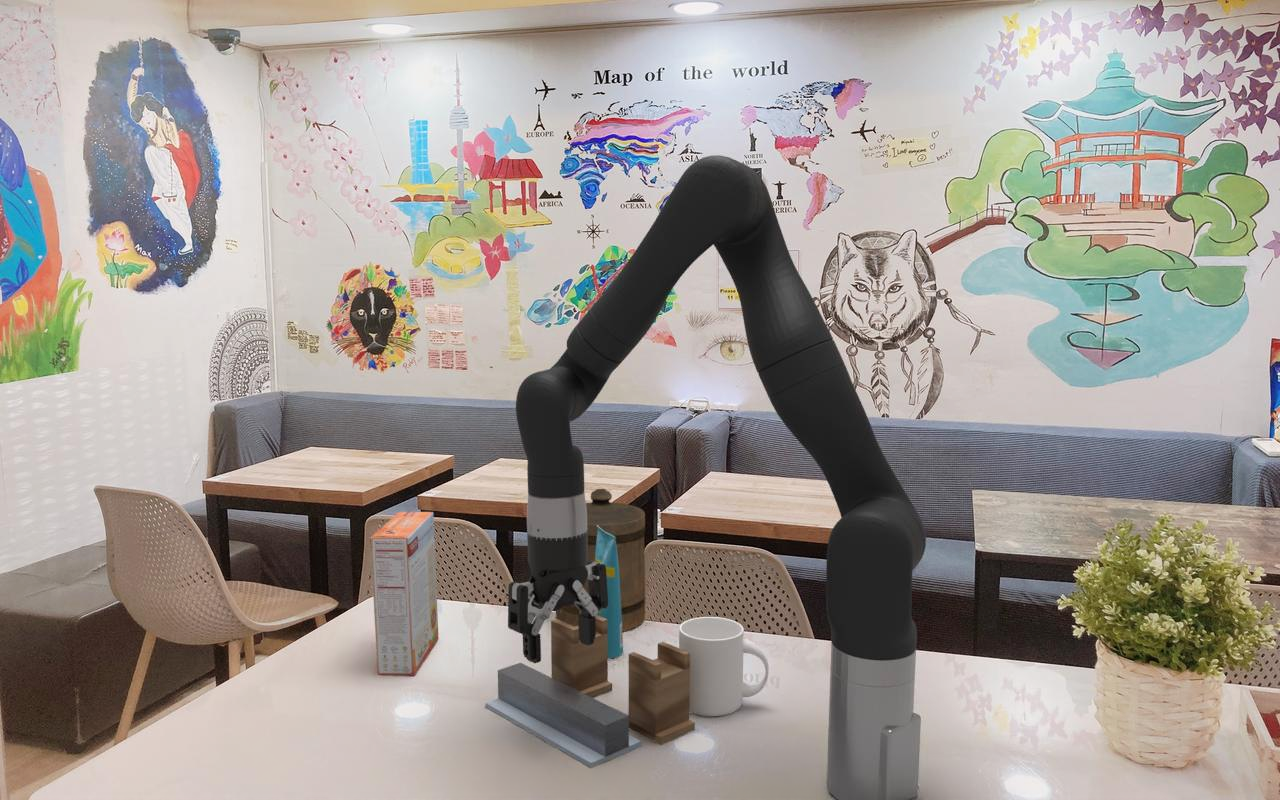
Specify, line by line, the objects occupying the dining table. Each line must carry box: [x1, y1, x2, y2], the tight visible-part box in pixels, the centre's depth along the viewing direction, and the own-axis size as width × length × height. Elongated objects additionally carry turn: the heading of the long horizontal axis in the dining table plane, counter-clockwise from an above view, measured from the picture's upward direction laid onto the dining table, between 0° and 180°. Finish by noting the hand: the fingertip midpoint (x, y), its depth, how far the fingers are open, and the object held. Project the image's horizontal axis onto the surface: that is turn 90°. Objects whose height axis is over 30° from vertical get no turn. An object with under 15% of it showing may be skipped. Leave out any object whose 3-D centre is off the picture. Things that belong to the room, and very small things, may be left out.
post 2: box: [628, 641, 696, 746], centre depth 129 cm, size 7×6×10 cm
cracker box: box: [369, 511, 439, 676], centre depth 151 cm, size 14×6×21 cm, turn 176°
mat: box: [485, 698, 642, 768], centre depth 131 cm, size 22×8×1 cm, turn 43°
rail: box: [497, 662, 630, 757], centre depth 130 cm, size 22×4×4 cm, turn 43°
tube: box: [595, 525, 624, 660], centre depth 153 cm, size 7×5×19 cm, turn 28°
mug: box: [678, 616, 770, 717], centre depth 136 cm, size 9×12×11 cm
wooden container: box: [555, 488, 646, 633], centre depth 167 cm, size 15×15×22 cm
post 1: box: [550, 612, 613, 698], centre depth 141 cm, size 7×6×10 cm
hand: (560, 652), depth 129 cm, fingers open, 8 cm apart
